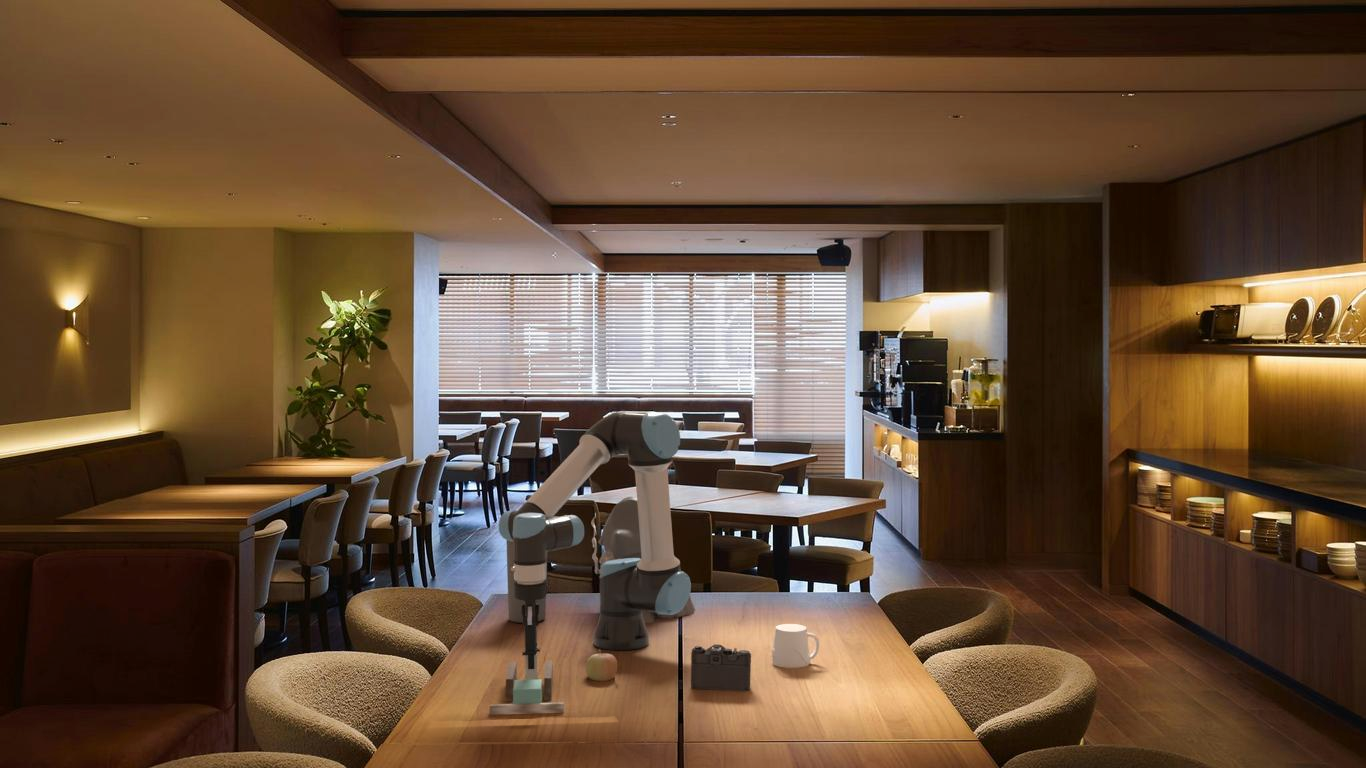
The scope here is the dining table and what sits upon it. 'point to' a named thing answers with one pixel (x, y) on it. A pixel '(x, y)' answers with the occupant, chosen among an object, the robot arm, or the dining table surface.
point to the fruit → (601, 667)
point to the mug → (792, 646)
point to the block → (527, 691)
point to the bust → (627, 545)
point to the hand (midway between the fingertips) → (531, 681)
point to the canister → (513, 603)
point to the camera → (720, 668)
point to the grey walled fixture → (528, 707)
